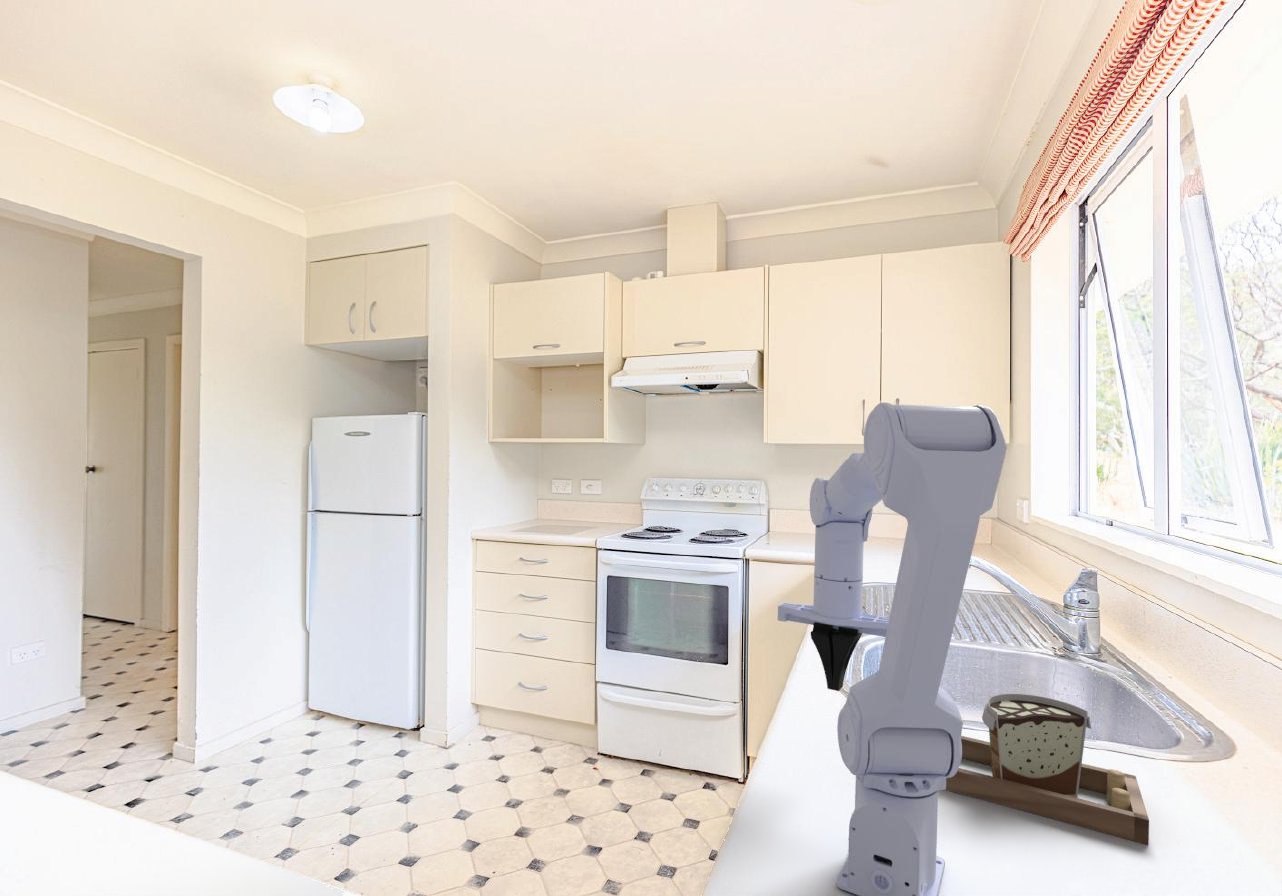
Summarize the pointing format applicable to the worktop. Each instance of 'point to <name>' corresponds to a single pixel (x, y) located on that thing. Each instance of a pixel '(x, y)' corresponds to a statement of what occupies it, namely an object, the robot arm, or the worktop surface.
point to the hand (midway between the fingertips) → (835, 687)
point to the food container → (1036, 741)
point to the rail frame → (1060, 796)
